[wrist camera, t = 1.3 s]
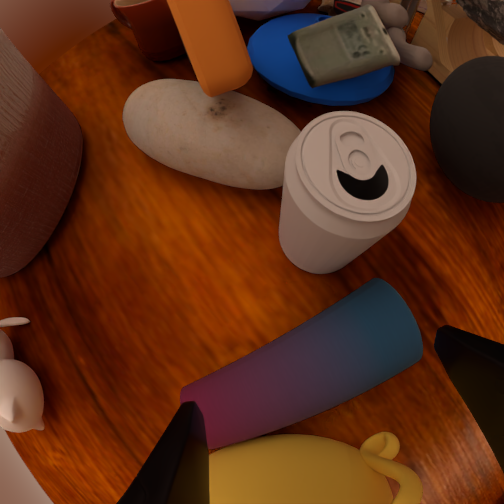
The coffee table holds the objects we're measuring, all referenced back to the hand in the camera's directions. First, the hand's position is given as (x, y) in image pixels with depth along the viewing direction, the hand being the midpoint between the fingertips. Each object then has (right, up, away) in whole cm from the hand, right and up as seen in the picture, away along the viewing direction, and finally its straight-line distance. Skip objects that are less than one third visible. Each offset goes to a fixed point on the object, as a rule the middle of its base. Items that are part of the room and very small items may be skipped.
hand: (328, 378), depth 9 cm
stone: (+1, +16, +13) cm, 21 cm away
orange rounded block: (-5, +22, +10) cm, 25 cm away
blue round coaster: (+5, +24, +18) cm, 31 cm away
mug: (-14, +31, +21) cm, 40 cm away
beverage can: (+3, +5, +14) cm, 16 cm away
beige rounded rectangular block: (+1, +20, +11) cm, 23 cm away
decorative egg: (+19, +13, +15) cm, 27 cm away
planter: (-31, +12, +18) cm, 37 cm away
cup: (-6, -7, +9) cm, 13 cm away
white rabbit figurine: (-26, -8, +13) cm, 30 cm away
